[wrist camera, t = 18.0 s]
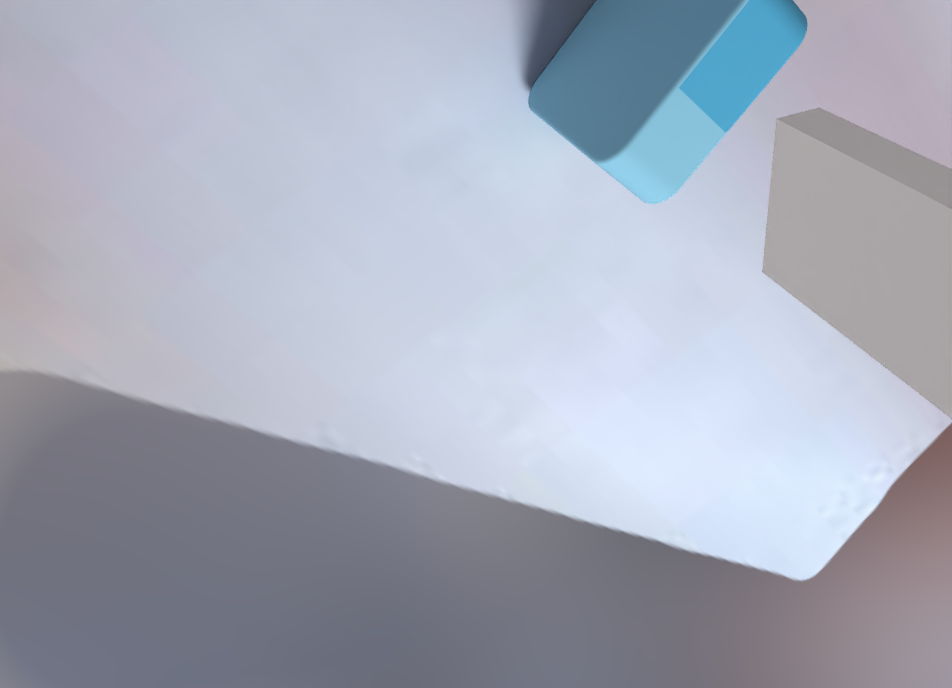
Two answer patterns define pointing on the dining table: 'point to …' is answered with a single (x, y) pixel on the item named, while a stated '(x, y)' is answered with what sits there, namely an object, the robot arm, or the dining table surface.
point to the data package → (662, 82)
